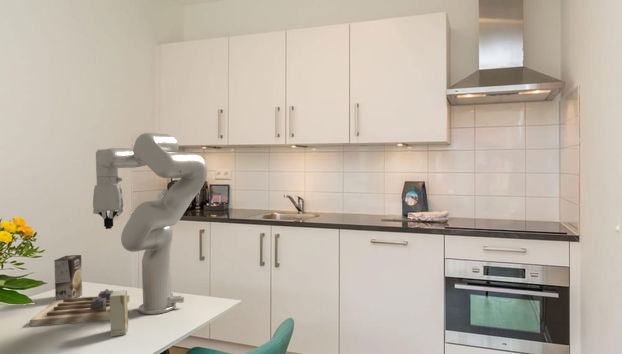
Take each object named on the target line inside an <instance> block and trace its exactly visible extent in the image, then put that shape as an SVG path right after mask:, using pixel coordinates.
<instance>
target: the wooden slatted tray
mask: <svg viewBox="0 0 622 354" xmlns="http://www.w3.org/2000/svg"><path fill="white" fill-rule="evenodd" d="M98 297H99V296H98V295H97V296H83V297H78V298H68V299H63V300H58V301H56V300H54V301H52V302H51V303H49V304H48V305H47V306H46V307H45V308H44V309H41V310H40V311H39V312H38V313H37V314H35V316H33V317H32V318H30V319H29V326H30V327H35V326H37V327H38V326H49V325H50V326H51V325H62V324H74V323H75V324H76V323H77V324H78V323H87V322H88V323H89V322H99V321H101V322H102V321H110V300H106V307H105V308H96V309H91V305H90V302H91V301H92V300H93V299H97V298H98ZM129 302H130V295H127V304H129Z"/></svg>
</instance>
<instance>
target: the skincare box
mask: <svg viewBox="0 0 622 354" xmlns="http://www.w3.org/2000/svg"><path fill="white" fill-rule="evenodd" d="M127 296H128V290H127V289H126V290H125V289H123V290H115V291H114V290H113V292H112V293H111V295H110V320H109V321H110V337H116V336H125V335H126V334H127V332H128V329H129V312H128V303H127Z"/></svg>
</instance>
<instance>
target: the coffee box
mask: <svg viewBox="0 0 622 354" xmlns="http://www.w3.org/2000/svg"><path fill="white" fill-rule="evenodd" d="M82 269H83V268H82V255H81V254H80V255H79V254H75V255H74V254H72V255H64V256H61V257H59V258H56V259H54V289H55V290H54V292H55V293H54V295H55V301H58V300H63V299H68V298H80V297H81V296H82V295H83V274H82V273H83V271H82Z"/></svg>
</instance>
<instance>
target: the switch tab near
mask: <svg viewBox="0 0 622 354" xmlns="http://www.w3.org/2000/svg"><path fill="white" fill-rule="evenodd" d="M90 305H91V309H96V308H105V307H106V298H101V297H98V298H97V299H93V300H92V301H91V302H90Z"/></svg>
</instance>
